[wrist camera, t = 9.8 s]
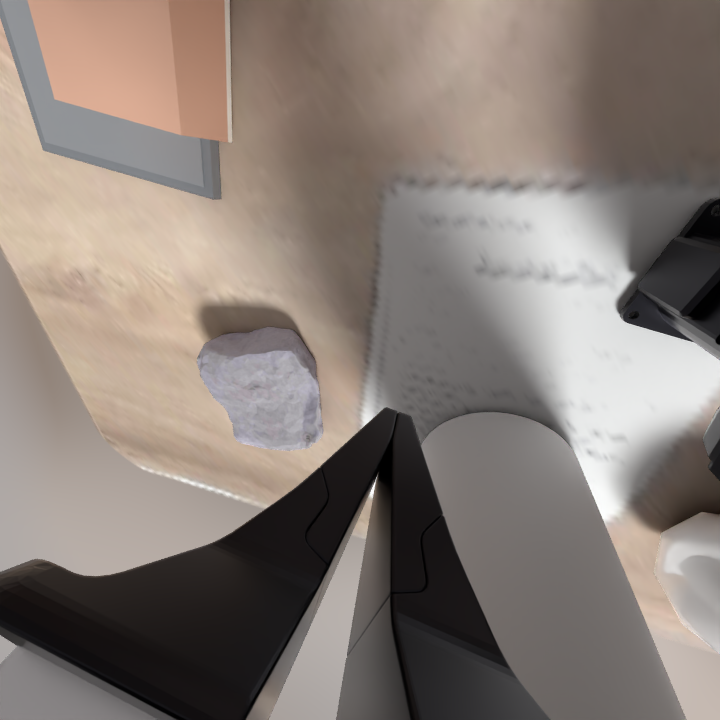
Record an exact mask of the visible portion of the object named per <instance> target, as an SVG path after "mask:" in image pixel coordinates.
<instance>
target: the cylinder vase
mask: <svg viewBox="0 0 720 720" xmlns="http://www.w3.org/2000/svg"><path fill="white" fill-rule="evenodd" d="M421 447H422V450H423V453H424V456H425V459H426V462H427V465H428V468H429V471H430V474H431V477H432V480H433V484H434V487H435V490H436V493H437V496H438V499H439V502H440V505H441V508H442V511H443V516H445V519H446V522H447V525H448V528H449V531H450V534H451V537H452V540H453V542H454V545H455V548H456V551H457V553H458V555H459V558H460V560H461V563H462V565H463V567H464V570H465V572H466V574H467V577H468V579H469V581H470V583H471V586H472V588H473V590H474V592H475V595H476V597H477V599H478V601H479V604H480V606H481V608H482V610H483V612H484V615H485V617H486V619H487V621H488V624H489V626H490V628H491V630H492V633H493V635H494V637H495V639H496V641H497V643H498V646H499V648H500V650H501V651H502V653H503V655H504V657H505V659H506V661H507V662H508V664H509V666H510V667H511V669H512V671H513V672H514V673H515V675H516V676H517V678H518V679H519V681H520V682H521V683H522V685H523V686H524V687H525V689H526V690H527V691H528V692H529V694H530V695H531V696H532V697H533V698H534V700H535V701H536V702H537V703H538V705H539V706H540V707H541V708H542V710H543V711H544V712H545V713H546V714H547V716H548V717H549V718H550V719H551V720H686V717H685V715H684V713H683V710H682V708H681V706H680V703H679V701H678V698H677V696H676V694H675V691H674V689H673V686H672V684H671V682H670V679H669V677H668V674H667V672H666V670H665V667H664V665H663V662H662V660H661V658H660V655H659V653H658V650H657V648H656V646H655V643H654V641H653V639H652V636H651V634H650V631H649V629H648V626H647V624H646V622H645V619H644V617H643V615H642V612H641V610H640V607H639V605H638V603H637V600H636V598H635V595H634V593H633V591H632V588H631V586H630V583H629V581H628V579H627V576H626V574H625V571H624V569H623V567H622V564H621V562H620V559H619V557H618V555H617V552H616V550H615V548H614V545H613V543H612V540H611V538H610V536H609V533H608V531H607V528H606V526H605V524H604V521H603V519H602V516H601V514H600V512H599V509H598V507H597V504H596V502H595V500H594V497H593V495H592V492H591V490H590V488H589V485H588V483H587V481H586V478H585V476H584V473H583V471H582V469H581V466H580V464H579V461H578V459H577V457H576V455H575V453H574V451H573V450H572V448H571V447H570V446H569V445H568V443H567V442H566V441H565V440H564V439H563V438H562V437H560V436H559V435H558V434H557V433H555V432H554V431H553V430H551V429H550V428H548V427H546V426H544V425H543V424H541V423H538V422H536V421H534V420H531V419H528V418H525V417H522V416H518V415H514V414H508V413H500V412H479V413H471V414H466V415H462V416H458V417H455V418H453V419H450V420H448V421H446V422H444V423H442V424H441V425H439V426H438V427H436V428H435V429H434V430H433V431H431V432H430V433H429V434H428V436H427V437H426V438H425V439H424V441H423V443H422V445H421Z"/></svg>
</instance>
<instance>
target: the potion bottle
mask: <svg viewBox="0 0 720 720" xmlns="http://www.w3.org/2000/svg"><path fill="white" fill-rule="evenodd" d="M654 575H655V577H656V578H657V580H658V582H659V584H660V586H661V587H662V589H663V591H664V593H665V595H666V596H667V598H668V600H669V602H670V604H671V605H672V607H673V609H674V611H675V613H676V614H677V616H678V618H679V620H680V622H681V623H682V625H684V626H685V627H686V628H687V629H689V630H690V631H691V632H692V633H694V634H695V635H696V636H697V637H699V638H700V639H701V640H702V641H704V642H705V643H706V644H707V645H709V646H710V647H711V648H712V649H714V650H715V651H716V652H717V653H719V654H720V514H714V513H706V512H700V513H699V514H697V515H695V516H693V517H691V518H689V519H687V520H685V521H683V522H681V523H679V524H677V525H675V526H673V527H672V528H670V529H668V530H666V531H664V532H662V533H661V536H660V542H659V547H658V553H657V558H656V563H655V569H654Z"/></svg>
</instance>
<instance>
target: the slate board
mask: <svg viewBox="0 0 720 720" xmlns="http://www.w3.org/2000/svg"><path fill="white" fill-rule="evenodd" d="M0 18H1V21H2V24H3V28H4V31H5V34H6V37H7V40H8V43H9V46H10V49H11V52H12V55H13V58H14V62H15V65H16V68H17V71H18V74H19V77H20V80H21V83H22V86H23V89H24V92H25V96H26V99H27V102H28V105H29V108H30V111H31V114H32V117H33V120H34V123H35V126H36V129H37V133H38V136H39V139H40V142H41V145H42V148H43V151H47V152H50V153H54V154H57V155H61V156H64V157H68V158H71V159H75V160H78V161H82V162H85V163H89V164H92V165H95V166H99V167H102V168H106V169H109V170H113V171H116V172H120V173H123V174H127V175H130V176H134V177H137V178H140V179H144V180H147V181H151V182H154V183H158V184H161V185H165V186H168V187H172V188H175V189H179V190H182V191H185V192H189V193H192V194H196V195H199V196H203V197H206V198H210V199H213V200H214V199H221V185H220V165H219V145H218V141H216V140H209V139H203V138H196V137H189V136H183V135H179V134H175V133H171V132H168V131H164V130H161V129H157V128H154V127H150V126H147V125H143V124H140V123H136V122H133V121H129V120H126V119H122V118H119V117H115V116H112V115H108V114H105V113H101V112H97V111H94V110H90V109H87V108H83V107H80V106H76V105H73V104H69V103H66V102H62V101H59V100H55V99H54V95H53V92H52V88H51V84H50V81H49V77H48V74H47V70H46V66H45V63H44V59H43V55H42V52H41V48H40V44H39V41H38V37H37V33H36V30H35V26H34V23H33V19H32V15H31V12H30V8H29V4H28V1H27V0H0Z"/></svg>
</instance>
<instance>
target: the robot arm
mask: <svg viewBox="0 0 720 720" xmlns="http://www.w3.org/2000/svg"><path fill="white" fill-rule="evenodd" d="M716 205H719V206H720V198H713V199H710V200H709V201H707V202H705V203H704V204H703V205H702V206H701V207H700V208H699V210H698V211H697V212H696V214H695V215H694V216H693V218H692V219H691V220H690V222H689V223H688V224H687V225H686V227H685V228H684V229H683V231H682V232H681V233H680V235H679V236H678V237H677V238H676V239H674V240H672V241H671V242H670V243H669V245H668V246H667V247H666V248H665V250H664V251H663V252H662V254H661V255H660V256H659V258H658V259H657V260H656V262H655V263H654V264H653V266H652V267H651V268H650V270H649V271H648V272H647V273H646V275H645V276H644V277H643V279H642V280H641V281H640V283H639V284H638V289H637V291H636V292H635V293H634V295H633V296H632V297H631V298H630V300H629V301H628V302H627V304H626V305H625V306H624V308H623V309H622V310H621V312H620V317H621V319H622V320H624V321H625V322H627V323H629V324H633V325H636V326H640V327H643V328H647V329H650V330H653V331H657V332H660V333H664V334H667V335H671V336H674V337H678V338H681V339H684V340H688V341H691V342H695V343H696V344H698V345H699V346H700V347H702V348H703V349H705V350H706V351H708V352H709V353H710V354H712V355H713V356H715V357H716V358H718V359H719V360H720V208H719V210H718V211H717V212H716V213H715V214H713V215H711V210H712V208H713V207H715V206H716ZM633 311H636V314H635V315H634V316H631V317H628V315H629V314H630V313H631V312H633ZM702 440H703V443H704V446H705V448H706V451H707V454H708V457H709V458H710V460H711V462H710V464H709V465H708V468H709V470H710V471H711V472H712V473H713V474H714V475H715V476H716V477H717V478H718V480H719V481H720V407H719V408H718V409H717V411H716V413H715V414H714V416H713V419H712V421H711V422H710V424H709V426H708V428H707V430H706V432H705V435H704V437H703V439H702ZM376 477H377V479H376ZM375 480H376V484H375V490H374V496H373V502H372V508H371V514H370V520H369V526H368V532H367V538H366V544H365V550H364V556H363V562H362V568H361V574H360V580H359V586H358V593H357V598H356V604H355V610H354V616H353V622H352V628H351V634H350V640H349V646H348V652H347V658H346V663H345V670H344V675H343V681H342V687H341V693H340V699H339V705H338V712H337V717H336V720H551V719H550V718H549V717H548V716H547V714H546V713H545V712H544V711H543V710H542V708H541V707H540V706H539V705H538V703H537V702H536V701H535V700H534V698H533V697H532V696H531V695H530V694H529V692H528V691H527V690H526V689H525V687H524V686H523V685H522V683H521V682H520V681H519V679H518V678H517V676H516V675H515V673H514V672H513V671H512V669H511V667H510V666H509V664H508V662H507V661H506V659H505V657H504V655H503V653H502V651H501V650H500V648H499V646H498V643H497V641H496V639H495V637H494V635H493V633H492V630H491V628H490V626H489V624H488V621H487V619H486V617H485V615H484V612H483V610H482V608H481V606H480V604H479V601H478V599H477V597H476V595H475V592H474V590H473V588H472V586H471V583H470V581H469V579H468V577H467V574H466V572H465V570H464V567H463V565H462V563H461V560H460V558H459V555H458V553H457V551H456V548H455V545H454V542H453V540H452V537H451V534H450V531H449V528H448V525H447V522H446V519H445V516H443V511H442V508H441V505H440V502H439V499H438V496H437V493H436V490H435V487H434V484H433V480H432V477H431V474H430V471H429V468H428V465H427V462H426V459H425V456H424V453H423V450H422V447H421V444H420V441H419V438H418V435H417V432H416V429H415V426H414V423H413V420H412V418H411V416H410V415H407V414H404V413H401V412H399V413H397V411H396V410H393V409H390V408H387V407H386V408H384V409H383V410H382V411H381V412H380V413H378V414H377V415H376V416H375V417H374V418H373V419H372V420H371V421H370V422H369V423H367V424H366V425H365V426H364V427H363V428H362V429H361V430H360V431H359V432H358V433H356V434H355V435H354V436H353V437H352V438H351V439H350V440H349V441H348V442H347V443H345V444H344V445H343V446H342V447H341V448H340V449H339V450H338V451H337V452H335V453H334V454H333V455H332V456H331V457H330V458H329V459H328V460H327V461H326V462H324V463H323V464H322V465H321V466H320V468H318V469H317V470H315V471H314V472H313V473H312V474H311V475H310V476H309V477H308V478H306V479H305V480H304V481H303V482H302V483H300V484H299V485H298V486H297V487H296V488H294V489H293V490H292V491H290V492H289V493H288V494H286V495H285V496H284V497H282V498H281V499H279V500H278V501H277V502H275V503H274V504H272V505H271V506H269V507H268V508H266V509H265V510H264V511H262V512H261V513H259V514H258V515H256V516H255V517H254V518H252V519H251V520H249V521H248V522H246V523H245V524H243V525H242V526H241V527H239V528H238V529H236V530H235V531H233V532H232V533H230V534H228V535H226V536H225V537H223V538H221V539H220V540H217V541H215V542H213V543H210V544H208V545H205V546H202V547H199V548H196V549H193V550H189V551H186V552H183V553H180V554H177V555H174V556H171V557H168V558H164V559H161V560H158V561H155V562H152V563H149V564H146V565H143V566H139V567H136V568H133V569H130V570H127V571H124V572H120V573H116V574H111V575H104V576H83V575H79V574H76V573H73V572H71V571H68V570H66V569H65V568H63V567H61V566H58V565H56V564H54V563H51V562H49V561H45V560H42V559H34V560H30V561H28V562H25V563H23V564H20V565H17V566H15V567H12V568H10V569H7V570H5V571H2V572H0V635H1V636H3V637H4V638H6V639H8V640H9V641H11V642H12V643H14V644H15V645H17V647H16V648H15V649H14V650H13V651H12V652H11V653H10V654H9V655H8V656H7V657H6V658H5V659H4V660H3V661H2V663H1V664H0V720H269V717H270V715H271V713H272V711H273V708H274V706H275V704H276V702H277V700H278V697H279V695H280V693H281V691H282V688H283V686H284V684H285V682H286V679H287V677H288V675H289V673H290V670H291V668H292V666H293V664H294V661H295V659H296V657H297V655H298V653H299V650H300V648H301V646H302V644H303V641H304V639H305V636H306V635H307V632H308V630H309V628H310V626H311V623H312V621H313V619H314V617H315V614H316V612H317V610H318V608H319V606H320V603H321V601H322V599H323V597H324V594H325V592H326V590H327V588H328V585H329V583H330V581H331V579H332V576H333V574H334V572H335V570H336V567H337V565H338V563H339V561H340V558H341V556H342V554H343V552H344V550H345V547H346V545H347V543H348V541H349V538H350V536H351V534H352V532H353V529H354V527H355V525H356V523H357V520H358V518H359V516H360V514H361V511H362V509H363V507H364V505H365V503H366V500H367V498H368V496H369V494H370V491H371V489H372V487H373V485H374V482H375Z"/></svg>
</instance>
